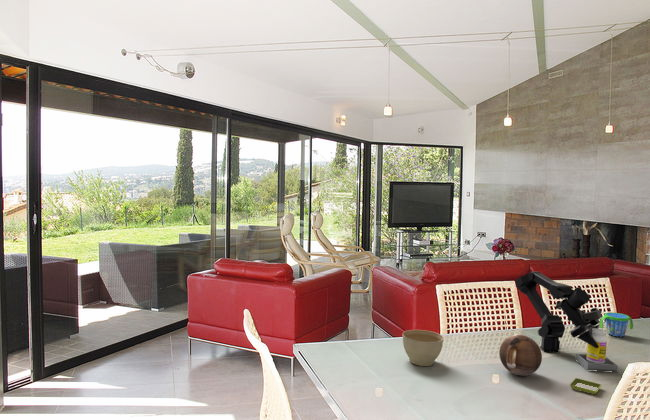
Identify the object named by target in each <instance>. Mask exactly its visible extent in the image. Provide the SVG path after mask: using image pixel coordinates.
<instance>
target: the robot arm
mask: <svg viewBox="0 0 650 420" xmlns="http://www.w3.org/2000/svg"><path fill="white" fill-rule="evenodd" d="M514 283H515V286H516V288H517V289H518V291H520V292H521V293H522V294H524V295H525V296H526V297H527V298H528V300H529V301H530V304H531V305H532V307H533V308H534V309H535V312H536V313H537V315H538V316H539V318H540V319H541V322H540V323H541V324H540V325H541V327H540V328H539V329H538V330H537V334H538V336H540V337H541V343H540V346H539V348H540V350H541V351H543V352H545V353H553V352H559V353H558V354H560V353H561V351H560V348H561V347H560V346H561V342H560V339H562V338H563V337H564V333H565V330H566V327H565V324H564V321H563V320H562V319H561V317H560V315H558V314H552V312H551V311H550V309H549V308H548V306H547V304H546V303H545V301H544V300H543V298H542V297H541V295H540V294H539V292H538V289H537V286H538V285H539V286H541V287H542V288H544V289H546V290H548V292H549V295H551V297H553V298H554V299H556V300H558V301H556V302H555V309H556V310H558V309H561V310H562V312H563V313H564V314H565V315H566V317H567V321H568V322H571V323H572V324H573V325H574V326H575V327H574V328H573V329H572V330H570V335H571V337H572V338H573V339H575V338H577V339H579V340H581V341H582V342H585V343H586V344H587V345H588V344H590V345H592V346H593V347H595V348H598V347H599V346H598V344H597V343H596V341H595V339H594V338H593V336H592V335H591V334H592V332H591V330H592V328H597V329H600V320H601V318H602V317H603V316H602V311H601V310H600V309H598V307H593V308H591V309H590V311H587V312H586V311H585V310H583V309H582V310H581V309H580V308H582V307H583V306H584V305H586V304H588V302H589V301H590V300H591V298H590V295H589V293H588V292H586V291H585V290H584V289H582V287H579V286H578V287H575V288H574V289H573V288H572V287H571V285H568V284H566V283H561V282H557V281H555V280H553V279H551V278H550V277H548V276H546V275H545V274H543V273H542V272H541V271H530V272H528V273H526V274H524V275H521V276H520V277H519V276H518V277H517V278H516V280H515V282H514ZM561 299H562V300H561Z"/></svg>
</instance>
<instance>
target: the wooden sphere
mask: <svg viewBox="0 0 650 420" xmlns="http://www.w3.org/2000/svg"><path fill="white" fill-rule="evenodd" d="M498 353H499V359H500V362H501V365H503V367H504V369H506V370H507V371H508V372H510V373H511V374H513V375H516V376H520V377H523V376H524V377H526V376H529V375H530V376H531V375H533V374H534V373H536V371H537V370H539V368H540V366H541V364H542V359H543V354H542V349H541V348H540V346H539V345H538V342H536V341H535V340H534V339H533V338H531V337H530V336H527V335H525V334H512V335H509V336H508V337H507V338H505V339H504V340H503V341H502V343H501V344H500V347H499V351H498Z"/></svg>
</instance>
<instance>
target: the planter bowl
mask: <svg viewBox="0 0 650 420" xmlns="http://www.w3.org/2000/svg"><path fill="white" fill-rule="evenodd" d="M402 344H403V349H404V352H405V354H406V355H407V357H408V359H409V362H410V363H412V364H413V365H416V366H421V367H429V366H433V365H434V363H435V361H436V359H438V357H439V355H440V354H441V352H442V349H443V344H444V336H443V335H442V334H440V333H438V332H435V331H431V330H426V329H424V330H423V329H409V330H405V331H403V332H402Z"/></svg>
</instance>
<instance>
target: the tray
mask: <svg viewBox="0 0 650 420" xmlns="http://www.w3.org/2000/svg"><path fill="white" fill-rule="evenodd" d="M575 360H577V361H578V362H579V363H580V364H581V365H583V366H584V367H585V368H586V369H587V370H597V371H612V372H617V373H618V371H619V370H618V368H619V365H618V364H617V363H615V361H613V360H611V359H610V358H608V357H607V356H606V358H605V363H603V364H597V363H592V362H590V361H588V360H587V353H575ZM578 362H577V363H578ZM579 363H578V364H579ZM580 364H579V365H580ZM581 365H580V366H581ZM585 368H584V369H585ZM586 369H585V370H586ZM587 370H586V371H587Z"/></svg>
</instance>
